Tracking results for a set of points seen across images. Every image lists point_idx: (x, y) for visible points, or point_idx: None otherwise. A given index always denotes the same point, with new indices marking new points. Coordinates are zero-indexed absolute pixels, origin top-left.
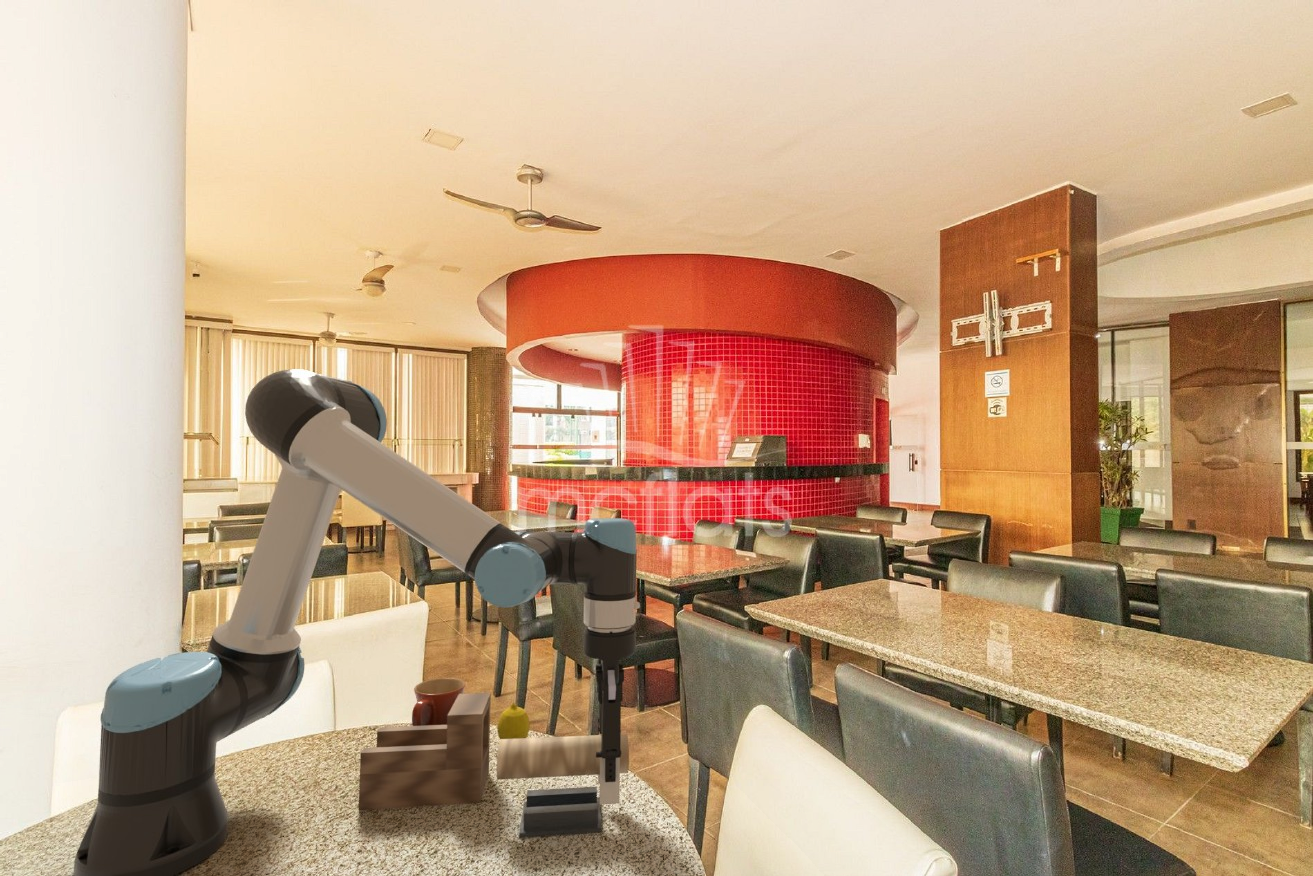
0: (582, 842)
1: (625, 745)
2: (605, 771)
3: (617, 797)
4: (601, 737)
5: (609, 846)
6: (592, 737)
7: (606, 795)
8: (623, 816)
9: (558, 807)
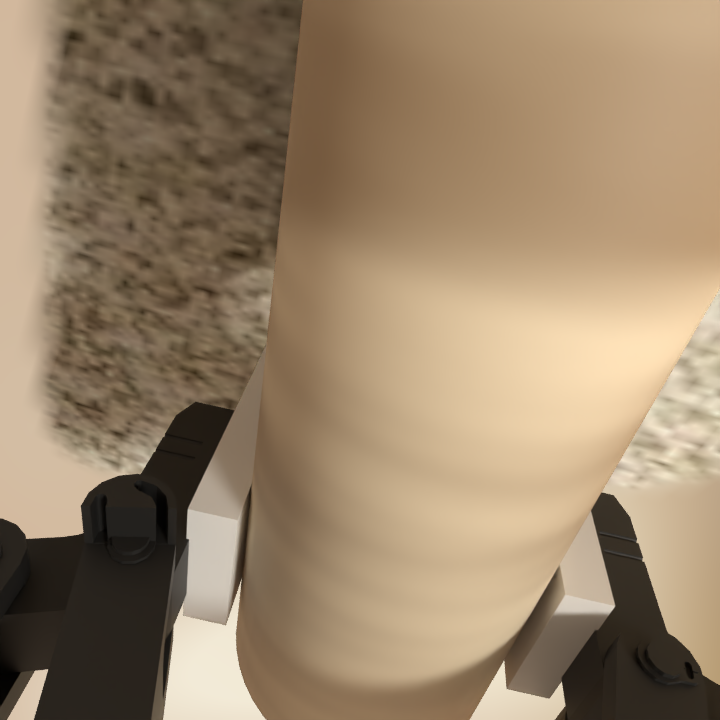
0: (226, 142)
1: (257, 694)
2: (165, 452)
3: None
4: (136, 674)
5: (175, 253)
6: (395, 586)
7: None
8: None
9: None
